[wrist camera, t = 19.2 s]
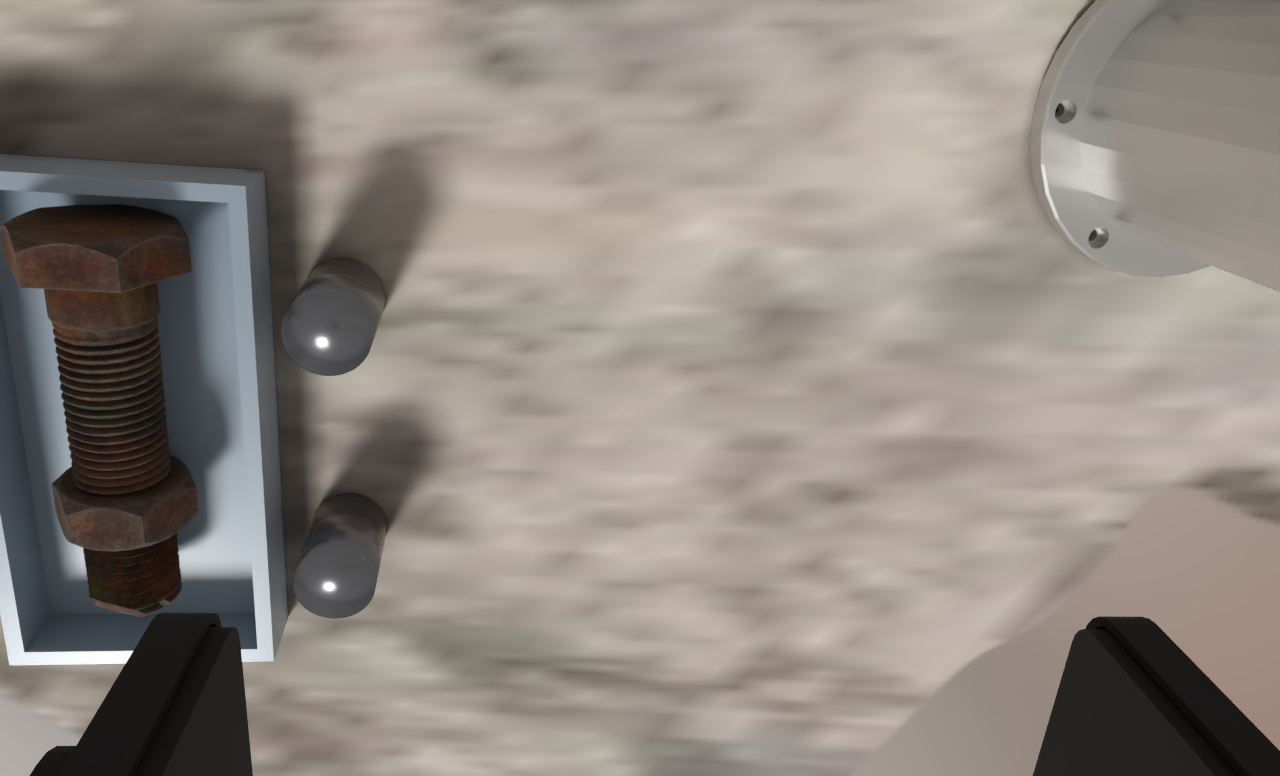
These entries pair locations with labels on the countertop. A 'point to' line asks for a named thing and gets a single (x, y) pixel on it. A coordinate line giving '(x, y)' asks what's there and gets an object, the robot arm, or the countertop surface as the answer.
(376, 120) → the countertop surface
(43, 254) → the bolt
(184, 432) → the tray
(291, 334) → the peg
